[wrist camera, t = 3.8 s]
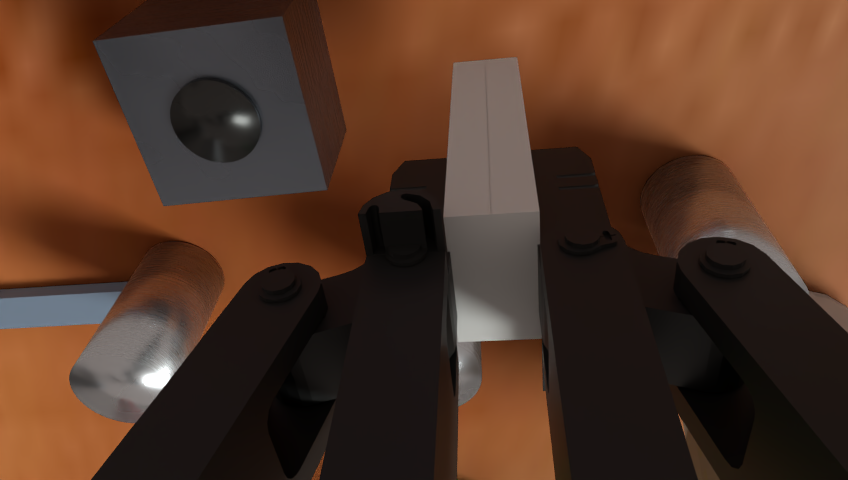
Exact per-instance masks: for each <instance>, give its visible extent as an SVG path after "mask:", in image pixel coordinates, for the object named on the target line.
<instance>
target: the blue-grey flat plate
mask: <svg viewBox="0 0 848 480" xmlns="http://www.w3.org/2000/svg"><path fill="white" fill-rule="evenodd" d="M126 284H127V282H114V283H98V284H82V285H66V286H49V287H33V288H17V289H1V290H0V329H9V328H27V327H45V326H64V325H82V324H100V323H102V321H103V320H104V318H105V317H106V315H107V314H108V312H109V310H110V309H111V307H112V306H113V304H114V303H115V301H116V300H117V298H118V296H119V295H120V293H121V292H122V290H123V289H124V287H125V286H126Z"/></svg>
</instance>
